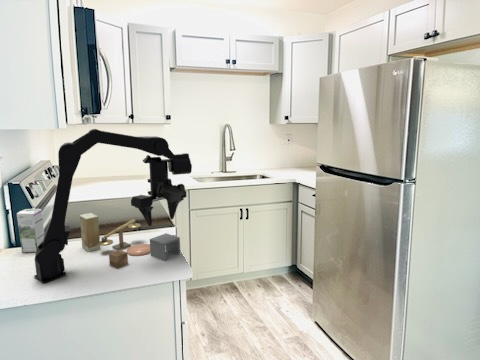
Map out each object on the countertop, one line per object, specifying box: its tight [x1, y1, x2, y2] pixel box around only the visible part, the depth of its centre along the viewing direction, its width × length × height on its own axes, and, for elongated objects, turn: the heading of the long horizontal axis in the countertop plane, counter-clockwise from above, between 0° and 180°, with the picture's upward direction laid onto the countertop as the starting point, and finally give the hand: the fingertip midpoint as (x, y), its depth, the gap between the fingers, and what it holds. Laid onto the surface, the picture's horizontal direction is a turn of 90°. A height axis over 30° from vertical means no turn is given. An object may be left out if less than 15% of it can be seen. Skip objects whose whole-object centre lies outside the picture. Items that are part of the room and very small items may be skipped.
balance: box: [99, 218, 142, 251], centre depth 123 cm, size 16×4×9 cm, turn 142°
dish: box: [126, 243, 151, 257], centre depth 120 cm, size 9×9×1 cm
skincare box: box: [79, 212, 101, 253], centre depth 122 cm, size 6×4×12 cm
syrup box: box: [16, 208, 45, 254], centre depth 121 cm, size 6×6×14 cm
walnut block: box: [108, 250, 129, 269], centre depth 109 cm, size 4×4×4 cm
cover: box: [149, 232, 181, 262], centre depth 116 cm, size 7×7×6 cm
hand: (161, 222), depth 114 cm, fingers open, 9 cm apart
